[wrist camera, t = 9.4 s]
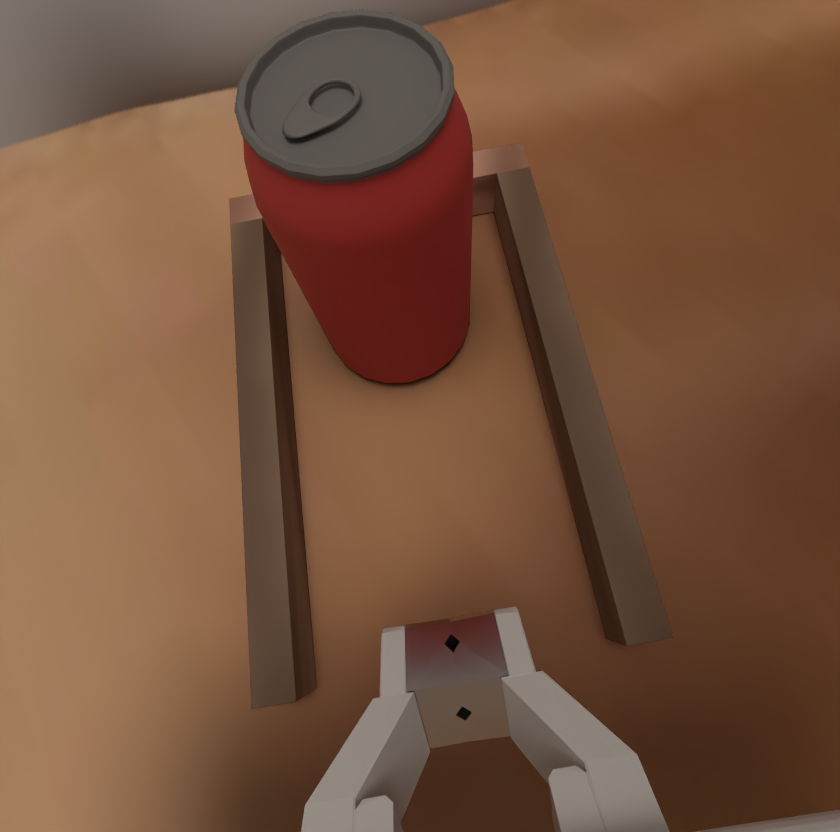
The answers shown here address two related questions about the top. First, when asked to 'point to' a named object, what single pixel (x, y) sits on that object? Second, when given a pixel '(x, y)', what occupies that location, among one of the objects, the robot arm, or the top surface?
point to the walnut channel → (563, 398)
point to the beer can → (366, 185)
